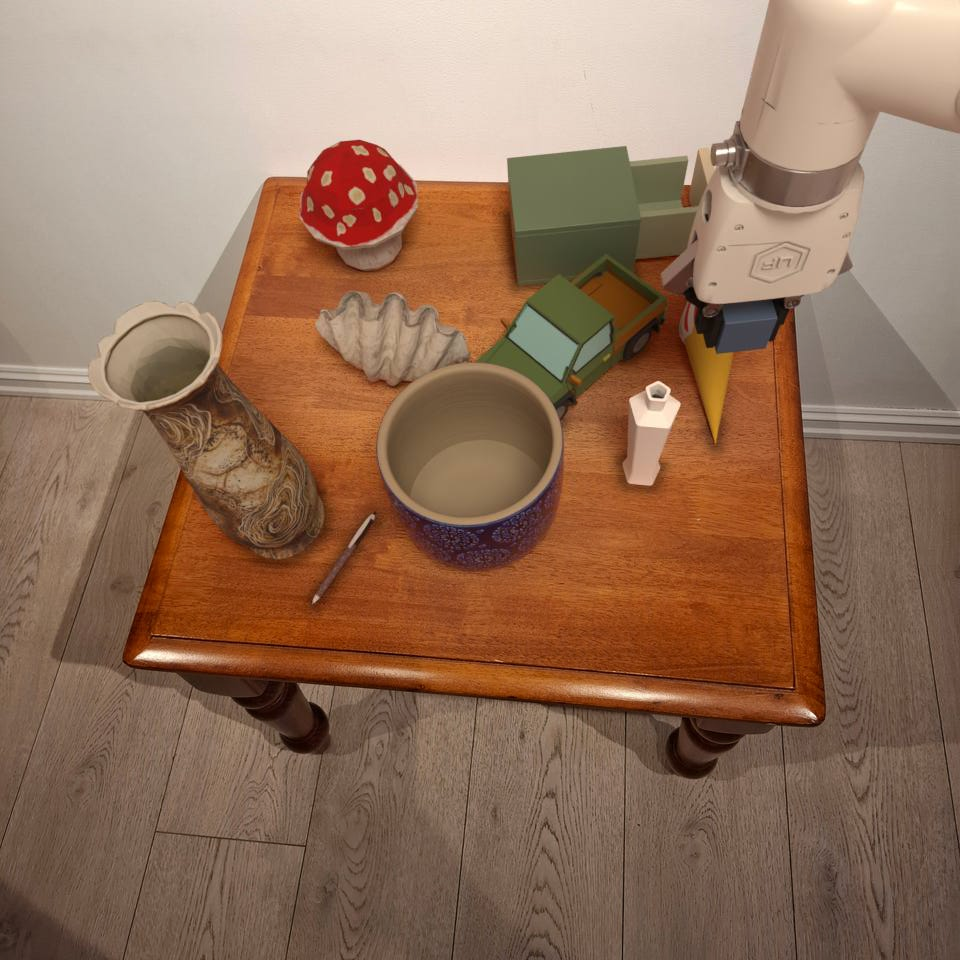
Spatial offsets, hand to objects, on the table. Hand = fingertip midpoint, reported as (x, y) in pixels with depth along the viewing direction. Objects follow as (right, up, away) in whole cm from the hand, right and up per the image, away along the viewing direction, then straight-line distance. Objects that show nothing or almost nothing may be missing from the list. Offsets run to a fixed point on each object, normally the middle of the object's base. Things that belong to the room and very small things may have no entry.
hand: (736, 329), depth 68 cm
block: (0, 0, 0) cm, 0 cm away
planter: (-21, -15, +18) cm, 32 cm away
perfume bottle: (-4, -11, +19) cm, 22 cm away
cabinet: (-10, +16, +33) cm, 38 cm away
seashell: (-30, +1, +27) cm, 40 cm away
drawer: (+2, +17, +32) cm, 36 cm away
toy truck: (-11, +1, +25) cm, 28 cm away
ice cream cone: (+4, 0, +24) cm, 24 cm away
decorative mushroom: (-34, +16, +35) cm, 51 cm away
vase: (-42, -16, +19) cm, 49 cm away
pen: (-34, -20, +16) cm, 43 cm away
